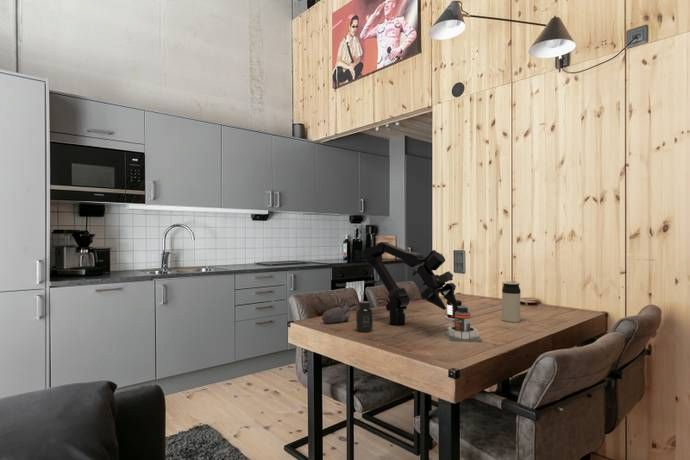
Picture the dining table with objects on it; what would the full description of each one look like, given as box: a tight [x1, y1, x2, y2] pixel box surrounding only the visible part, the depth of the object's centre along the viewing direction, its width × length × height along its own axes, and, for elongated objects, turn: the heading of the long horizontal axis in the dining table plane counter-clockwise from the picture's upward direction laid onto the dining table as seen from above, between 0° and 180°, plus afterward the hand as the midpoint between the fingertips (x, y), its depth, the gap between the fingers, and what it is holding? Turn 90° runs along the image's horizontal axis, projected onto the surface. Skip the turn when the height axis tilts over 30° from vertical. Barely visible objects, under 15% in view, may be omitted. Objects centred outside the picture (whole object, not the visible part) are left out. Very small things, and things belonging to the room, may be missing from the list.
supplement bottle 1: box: [355, 300, 374, 333], centre depth 173 cm, size 7×7×12 cm
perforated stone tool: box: [321, 305, 351, 324], centre depth 187 cm, size 15×5×7 cm, turn 121°
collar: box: [444, 325, 483, 343], centre depth 162 cm, size 12×12×3 cm
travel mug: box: [501, 280, 521, 323], centre depth 193 cm, size 8×8×18 cm
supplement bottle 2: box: [454, 305, 471, 331], centre depth 163 cm, size 6×6×11 cm
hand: (451, 307), depth 166 cm, fingers open, 9 cm apart
